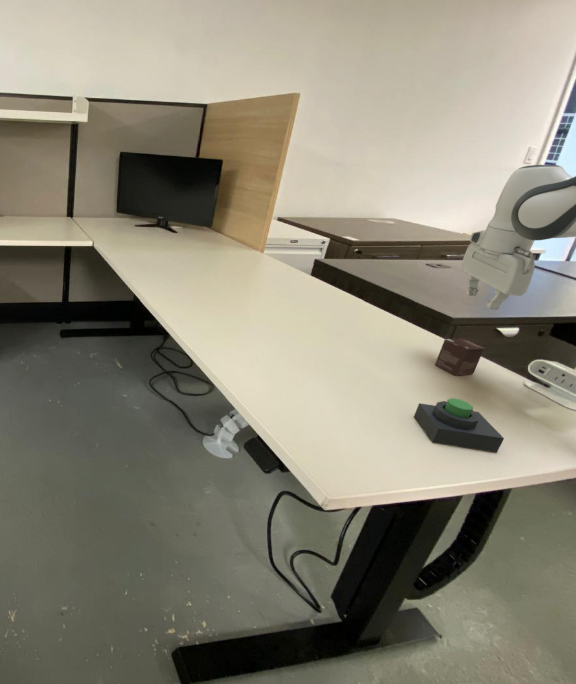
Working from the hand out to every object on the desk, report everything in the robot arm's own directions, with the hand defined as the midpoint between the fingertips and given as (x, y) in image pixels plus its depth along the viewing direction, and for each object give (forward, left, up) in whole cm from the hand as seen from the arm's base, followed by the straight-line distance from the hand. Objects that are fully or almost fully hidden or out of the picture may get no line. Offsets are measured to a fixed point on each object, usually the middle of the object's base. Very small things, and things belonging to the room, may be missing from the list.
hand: (480, 301), depth 108 cm
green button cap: (+14, +31, -14) cm, 36 cm away
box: (-1, -1, -19) cm, 19 cm away
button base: (+13, +31, -19) cm, 38 cm away
